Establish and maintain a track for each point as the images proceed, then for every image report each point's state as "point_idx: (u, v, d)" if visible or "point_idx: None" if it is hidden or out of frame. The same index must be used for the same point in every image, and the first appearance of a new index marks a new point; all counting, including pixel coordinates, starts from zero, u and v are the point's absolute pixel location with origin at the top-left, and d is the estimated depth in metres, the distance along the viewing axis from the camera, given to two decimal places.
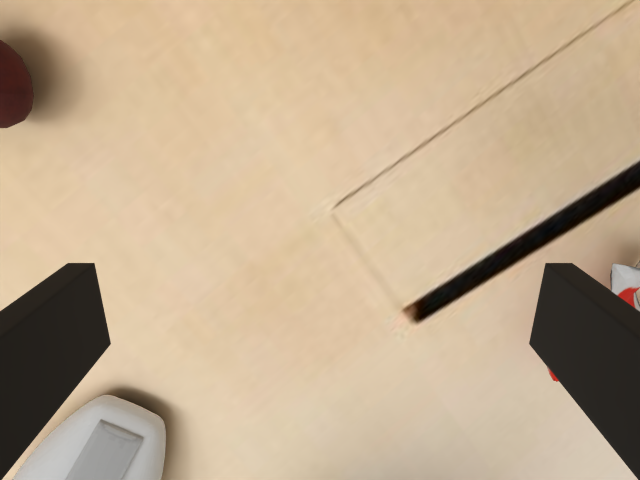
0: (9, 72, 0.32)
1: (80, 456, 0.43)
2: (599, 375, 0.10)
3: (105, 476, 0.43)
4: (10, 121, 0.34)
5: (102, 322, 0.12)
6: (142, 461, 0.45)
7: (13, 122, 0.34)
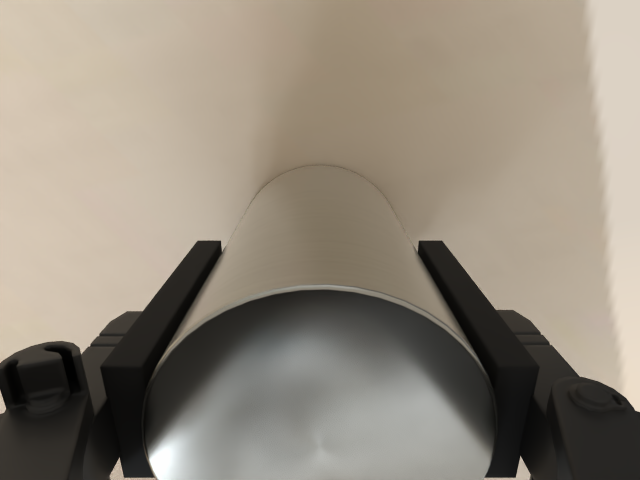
0: None
1: None
2: None
3: None
4: None
5: None
6: None
7: None
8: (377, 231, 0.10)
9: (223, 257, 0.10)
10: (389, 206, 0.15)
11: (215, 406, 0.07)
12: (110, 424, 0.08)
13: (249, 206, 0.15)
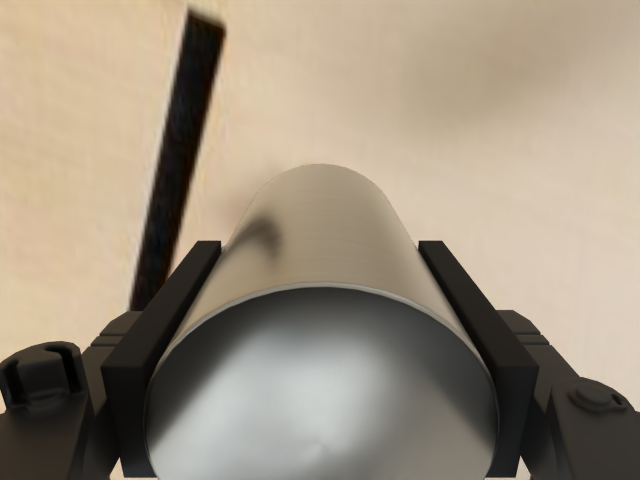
0: None
1: None
2: None
3: None
4: None
5: None
6: None
7: None
8: (378, 229, 0.10)
9: (224, 255, 0.10)
10: (390, 205, 0.15)
11: (216, 403, 0.07)
12: (110, 424, 0.08)
13: (250, 205, 0.15)
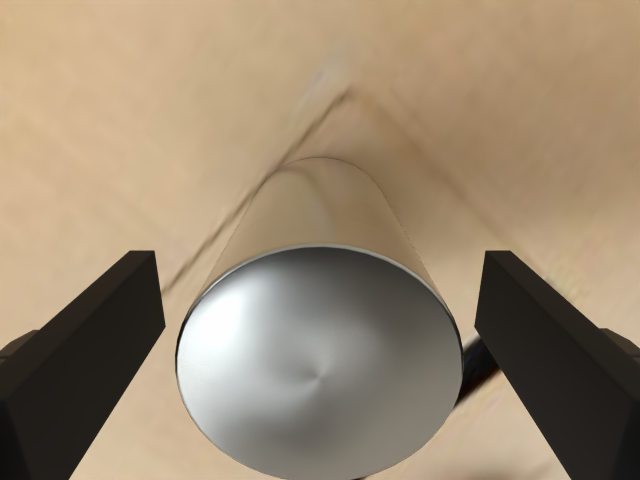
0: None
1: None
2: (521, 350, 0.11)
3: None
4: None
5: (159, 306, 0.13)
6: None
7: None
8: (368, 209, 0.11)
9: (237, 232, 0.12)
10: (381, 193, 0.16)
11: (235, 343, 0.09)
12: None
13: (256, 194, 0.17)
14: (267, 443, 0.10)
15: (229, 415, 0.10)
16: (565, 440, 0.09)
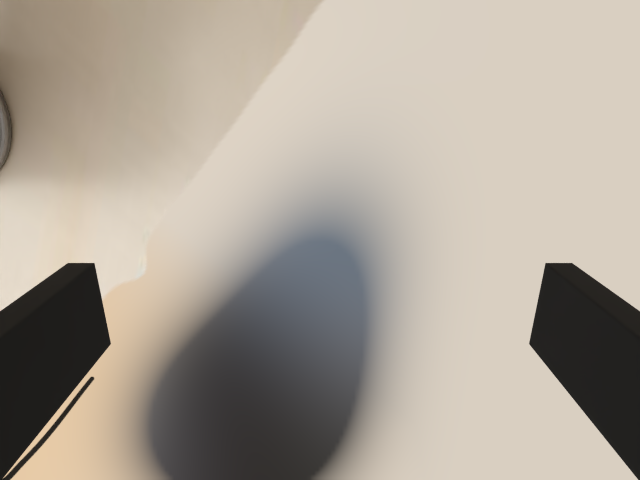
0: None
1: None
2: (599, 375, 0.10)
3: None
4: None
5: (102, 322, 0.12)
6: None
7: None
8: None
9: None
10: None
11: None
12: None
13: None
14: None
15: None
16: None
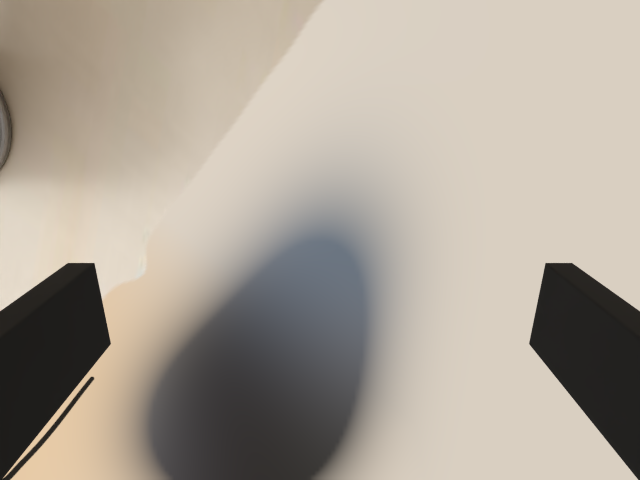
0: None
1: None
2: (599, 375, 0.10)
3: None
4: None
5: (102, 322, 0.12)
6: None
7: None
8: None
9: None
10: None
11: None
12: None
13: None
14: None
15: None
16: None
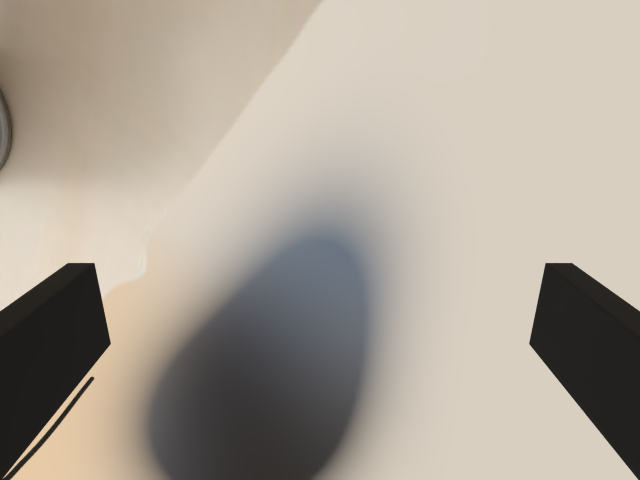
0: None
1: None
2: (599, 375, 0.10)
3: None
4: None
5: (102, 322, 0.12)
6: None
7: None
8: None
9: None
10: None
11: None
12: None
13: None
14: None
15: None
16: None
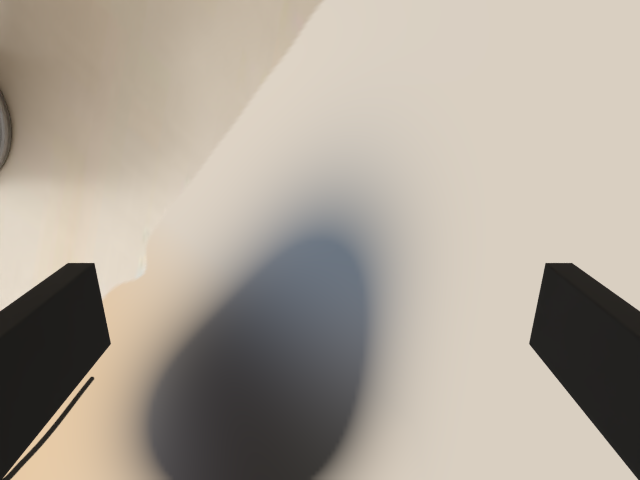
0: None
1: None
2: (599, 375, 0.10)
3: None
4: None
5: (102, 322, 0.12)
6: None
7: None
8: None
9: None
10: None
11: None
12: None
13: None
14: None
15: None
16: None
